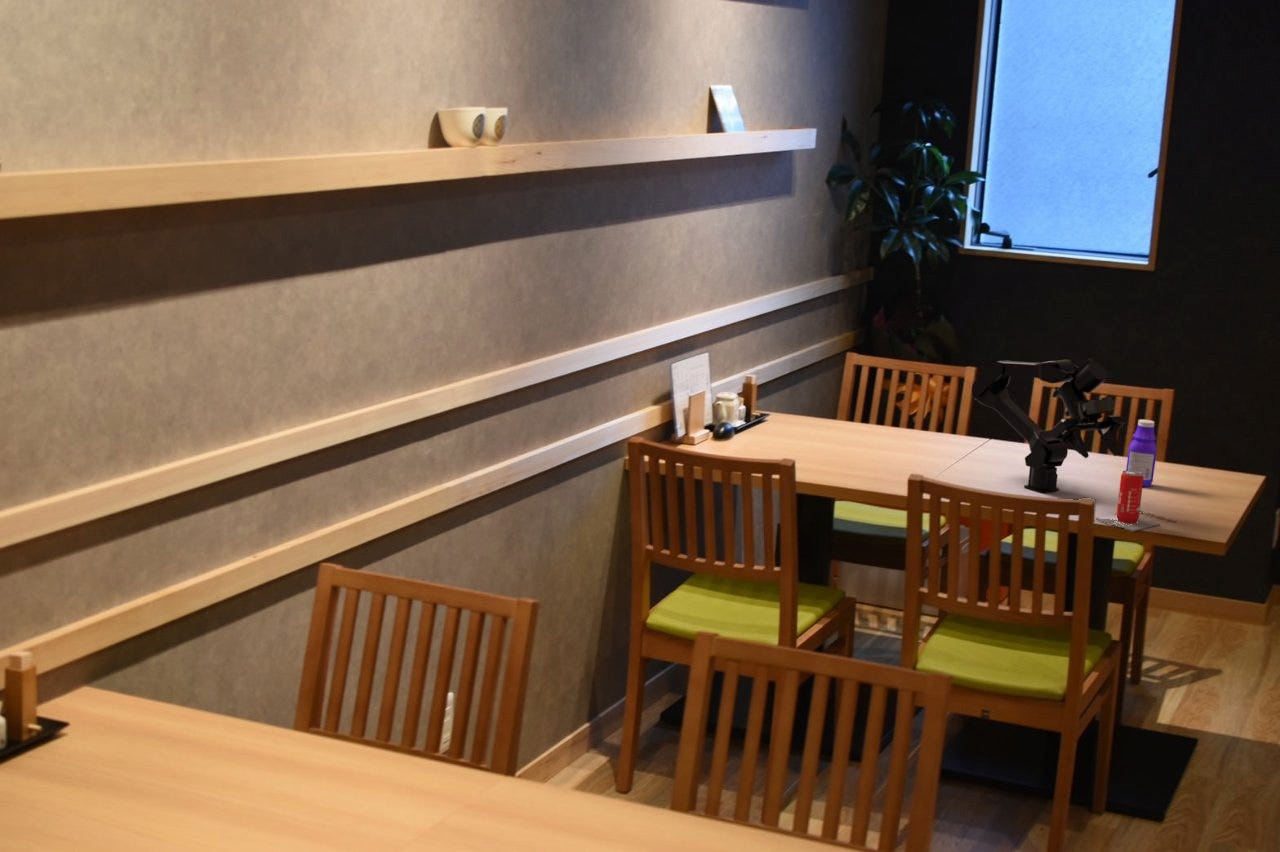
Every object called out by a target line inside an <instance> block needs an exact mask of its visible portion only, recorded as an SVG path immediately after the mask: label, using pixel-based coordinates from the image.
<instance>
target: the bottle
mask: <svg viewBox="0 0 1280 852" xmlns="http://www.w3.org/2000/svg"><path fill="white" fill-rule="evenodd" d="M1137 421H1138V422H1137V427H1136V430H1135V432H1134V434H1133V435H1132V437H1133V440H1132V441H1131V442H1130V444H1129V446H1128V453H1127V459H1126V467H1125V468H1126V469H1125V471H1126V470H1131V471H1138V472H1141V473H1143V477H1144V479H1143V486H1145V488H1148V487H1150V486H1151V485H1152V483H1153V481H1154V475H1155V467H1156V466H1155V465H1156V461H1157V451H1158V449H1157V444H1156V443H1155V441H1156V439H1157V437H1156V435H1155V421H1154V420H1150V419H1138V420H1137Z"/></svg>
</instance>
